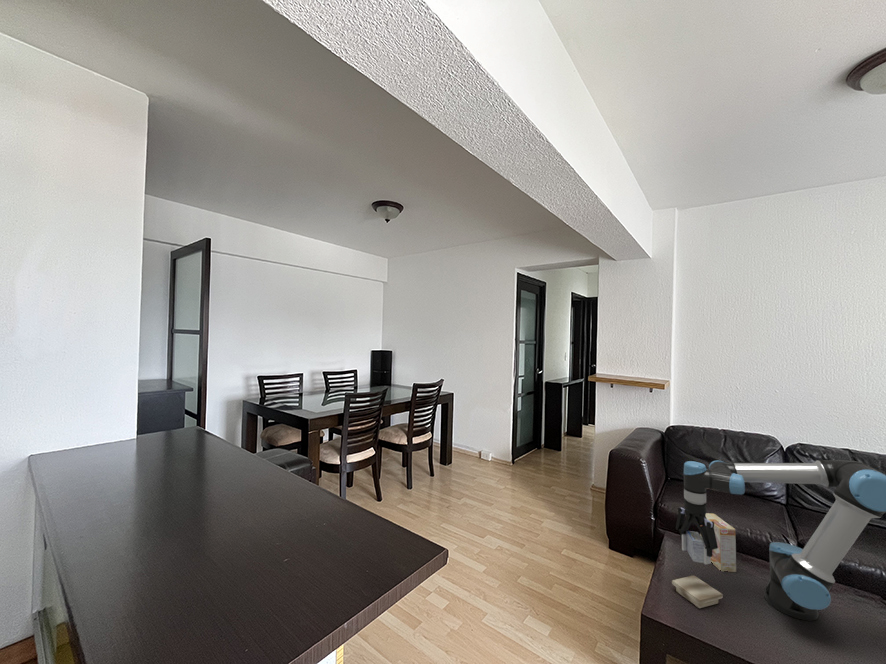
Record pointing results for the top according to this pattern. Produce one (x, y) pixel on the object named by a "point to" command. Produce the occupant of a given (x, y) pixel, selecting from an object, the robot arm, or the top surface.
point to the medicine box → (695, 546)
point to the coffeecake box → (723, 544)
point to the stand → (697, 591)
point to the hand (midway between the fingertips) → (695, 556)
